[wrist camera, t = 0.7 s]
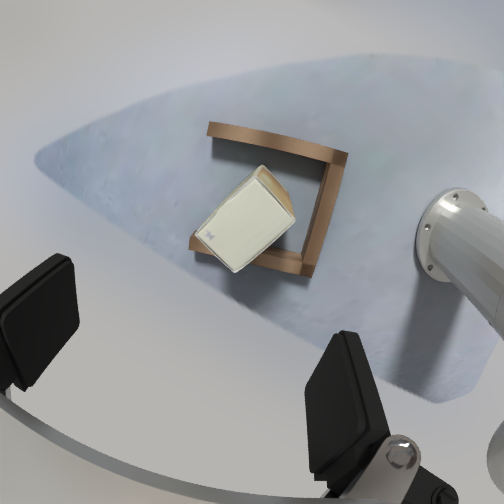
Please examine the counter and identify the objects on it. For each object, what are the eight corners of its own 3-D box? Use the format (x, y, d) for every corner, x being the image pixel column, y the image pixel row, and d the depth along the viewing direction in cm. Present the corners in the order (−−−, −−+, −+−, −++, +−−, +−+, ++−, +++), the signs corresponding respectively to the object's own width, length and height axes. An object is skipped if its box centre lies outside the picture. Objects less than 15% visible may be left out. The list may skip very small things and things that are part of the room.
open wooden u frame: (342, 151, 28) (348, 153, 26) (309, 268, 34) (311, 277, 31) (214, 122, 28) (209, 121, 26) (194, 241, 34) (188, 249, 31)
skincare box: (248, 227, 32) (232, 278, 21) (221, 200, 31) (189, 237, 20) (291, 190, 30) (299, 222, 19) (264, 161, 29) (254, 174, 18)
